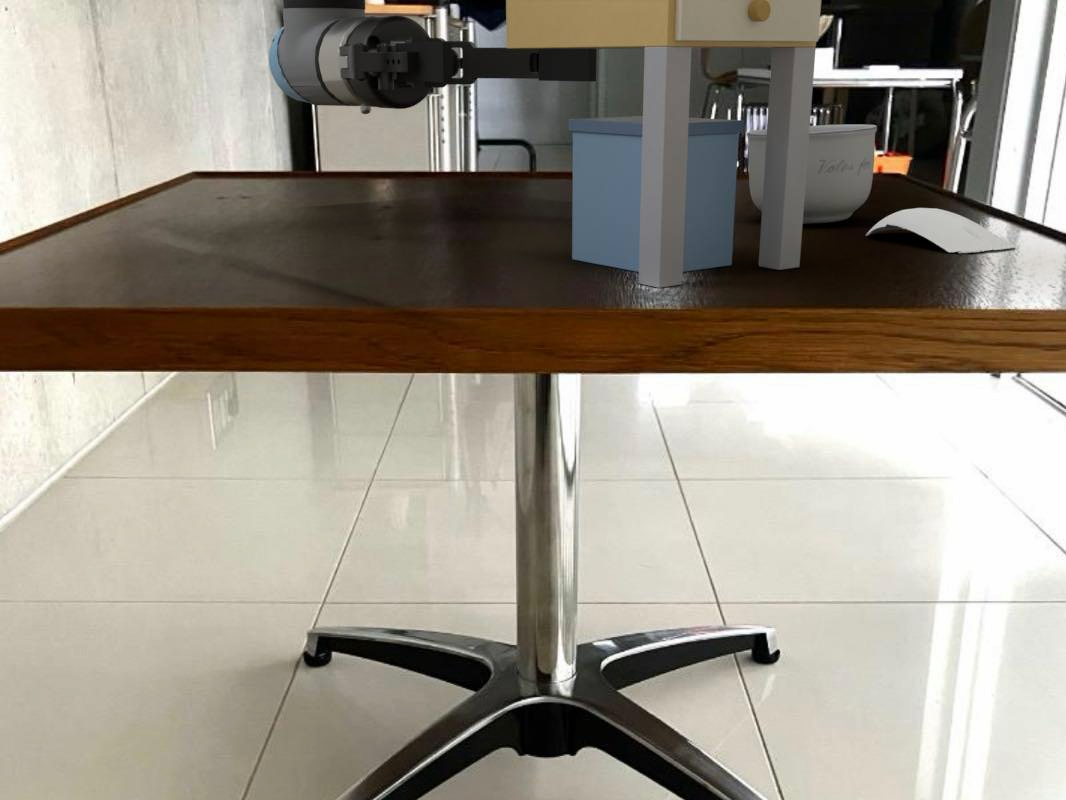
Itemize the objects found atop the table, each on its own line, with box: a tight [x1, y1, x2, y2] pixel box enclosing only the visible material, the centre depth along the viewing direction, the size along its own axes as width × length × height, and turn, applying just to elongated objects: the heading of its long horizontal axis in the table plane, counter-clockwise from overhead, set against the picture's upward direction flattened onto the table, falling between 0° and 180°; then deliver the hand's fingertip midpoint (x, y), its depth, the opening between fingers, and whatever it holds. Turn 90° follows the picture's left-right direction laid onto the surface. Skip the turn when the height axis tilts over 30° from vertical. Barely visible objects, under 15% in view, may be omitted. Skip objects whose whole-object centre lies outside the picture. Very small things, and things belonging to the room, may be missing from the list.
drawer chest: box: [505, 0, 822, 289], centre depth 81 cm, size 17×13×22 cm
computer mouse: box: [865, 207, 1016, 254], centre depth 94 cm, size 7×12×2 cm, turn 26°
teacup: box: [746, 123, 878, 225], centre depth 107 cm, size 14×11×8 cm
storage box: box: [568, 115, 744, 273], centre depth 84 cm, size 9×7×10 cm
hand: (523, 62), depth 92 cm, fingers open, 13 cm apart
